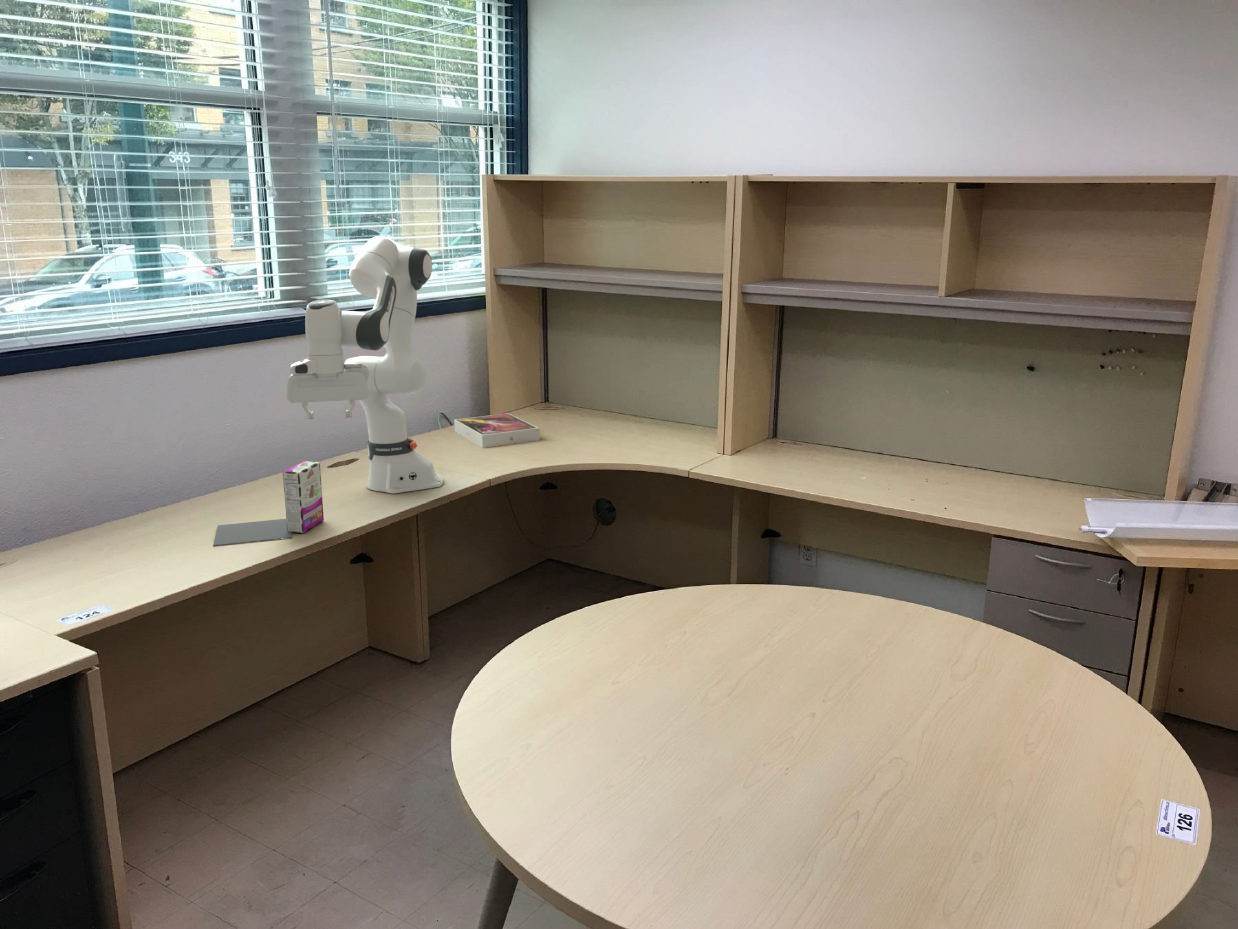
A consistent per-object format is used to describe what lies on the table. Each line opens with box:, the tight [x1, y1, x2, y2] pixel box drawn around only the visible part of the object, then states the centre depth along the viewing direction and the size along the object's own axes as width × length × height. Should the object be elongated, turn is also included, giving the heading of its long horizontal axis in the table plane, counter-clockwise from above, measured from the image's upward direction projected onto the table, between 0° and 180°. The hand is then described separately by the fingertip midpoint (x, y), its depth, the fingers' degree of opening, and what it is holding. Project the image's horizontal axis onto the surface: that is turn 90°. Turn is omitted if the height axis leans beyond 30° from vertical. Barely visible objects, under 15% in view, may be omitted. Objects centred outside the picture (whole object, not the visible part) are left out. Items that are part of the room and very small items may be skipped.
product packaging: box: [453, 413, 541, 449], centre depth 352 cm, size 22×28×5 cm
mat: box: [212, 518, 292, 547], centre depth 252 cm, size 18×16×1 cm
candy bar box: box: [282, 460, 325, 534], centre depth 253 cm, size 11×5×16 cm, turn 168°
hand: (330, 418), depth 250 cm, fingers open, 8 cm apart
